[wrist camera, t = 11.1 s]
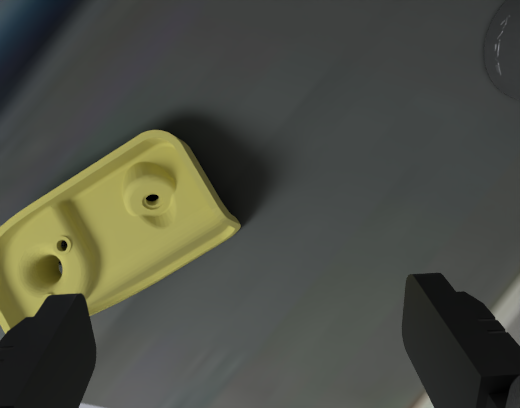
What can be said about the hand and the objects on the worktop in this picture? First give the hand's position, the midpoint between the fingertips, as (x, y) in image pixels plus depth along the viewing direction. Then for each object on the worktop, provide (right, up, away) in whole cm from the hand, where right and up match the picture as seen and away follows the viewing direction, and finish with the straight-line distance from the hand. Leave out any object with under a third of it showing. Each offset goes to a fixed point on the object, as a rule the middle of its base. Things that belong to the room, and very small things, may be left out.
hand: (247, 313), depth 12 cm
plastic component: (-12, +1, +30) cm, 32 cm away
